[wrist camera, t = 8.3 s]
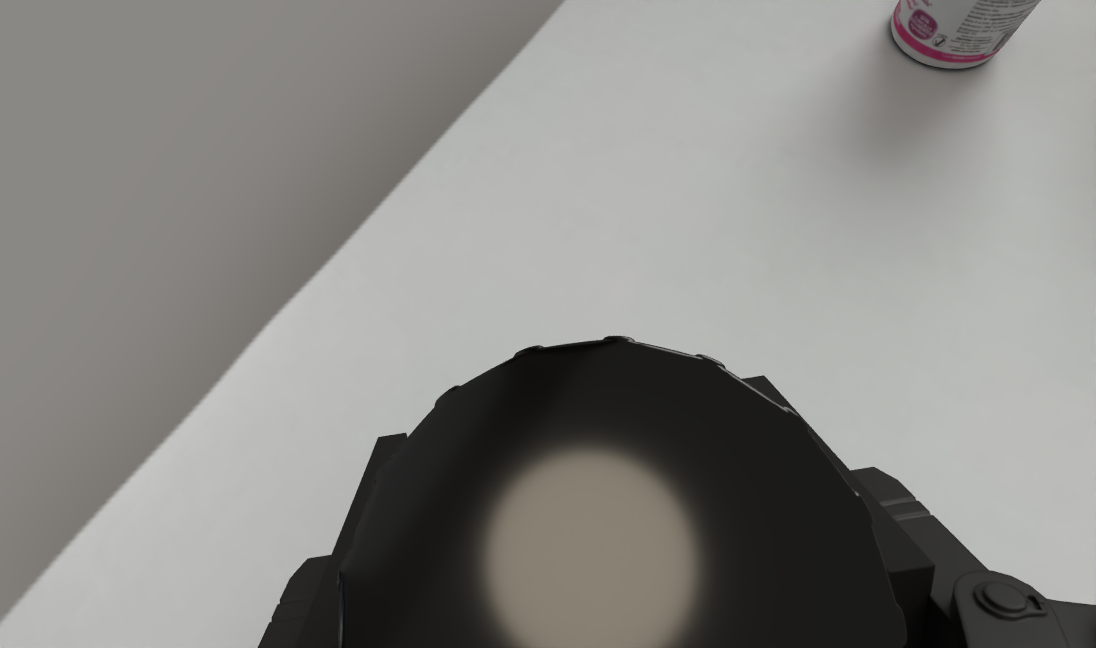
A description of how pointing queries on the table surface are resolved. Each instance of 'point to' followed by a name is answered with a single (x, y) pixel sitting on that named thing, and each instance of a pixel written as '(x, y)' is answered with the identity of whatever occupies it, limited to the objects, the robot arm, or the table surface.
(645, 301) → the table surface
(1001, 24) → the pill bottle
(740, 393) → the ink bottle
